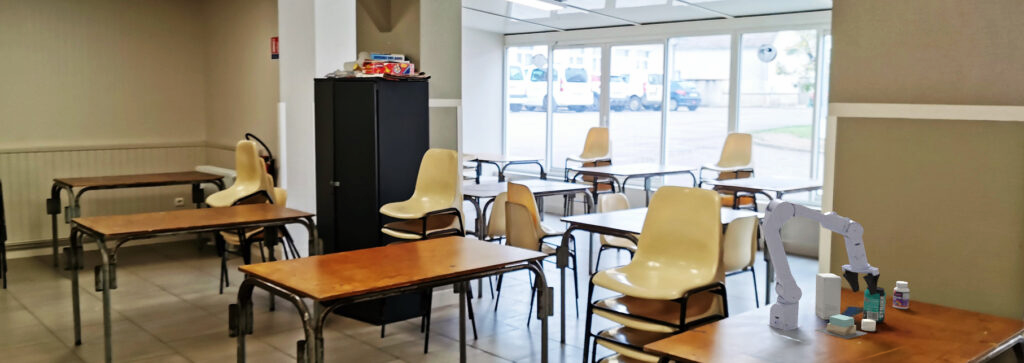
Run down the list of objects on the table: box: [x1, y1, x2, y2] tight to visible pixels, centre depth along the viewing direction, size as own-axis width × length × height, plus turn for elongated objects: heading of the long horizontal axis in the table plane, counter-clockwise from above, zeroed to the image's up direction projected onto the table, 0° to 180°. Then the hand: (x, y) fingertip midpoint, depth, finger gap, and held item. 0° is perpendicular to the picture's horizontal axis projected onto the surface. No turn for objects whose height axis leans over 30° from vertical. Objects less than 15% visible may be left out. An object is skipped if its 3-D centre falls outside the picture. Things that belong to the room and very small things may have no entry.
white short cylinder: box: [860, 318, 877, 332], centre depth 281 cm, size 4×4×4 cm
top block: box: [829, 313, 855, 328], centre depth 277 cm, size 6×6×2 cm
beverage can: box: [862, 286, 887, 324], centre depth 293 cm, size 7×7×12 cm
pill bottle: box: [892, 280, 910, 310], centre depth 314 cm, size 5×5×10 cm
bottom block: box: [826, 322, 857, 336], centre depth 277 cm, size 6×6×2 cm
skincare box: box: [814, 272, 842, 320], centre depth 297 cm, size 8×7×16 cm
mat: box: [814, 326, 868, 340], centre depth 277 cm, size 12×12×1 cm
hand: (864, 292), depth 283 cm, fingers open, 7 cm apart
